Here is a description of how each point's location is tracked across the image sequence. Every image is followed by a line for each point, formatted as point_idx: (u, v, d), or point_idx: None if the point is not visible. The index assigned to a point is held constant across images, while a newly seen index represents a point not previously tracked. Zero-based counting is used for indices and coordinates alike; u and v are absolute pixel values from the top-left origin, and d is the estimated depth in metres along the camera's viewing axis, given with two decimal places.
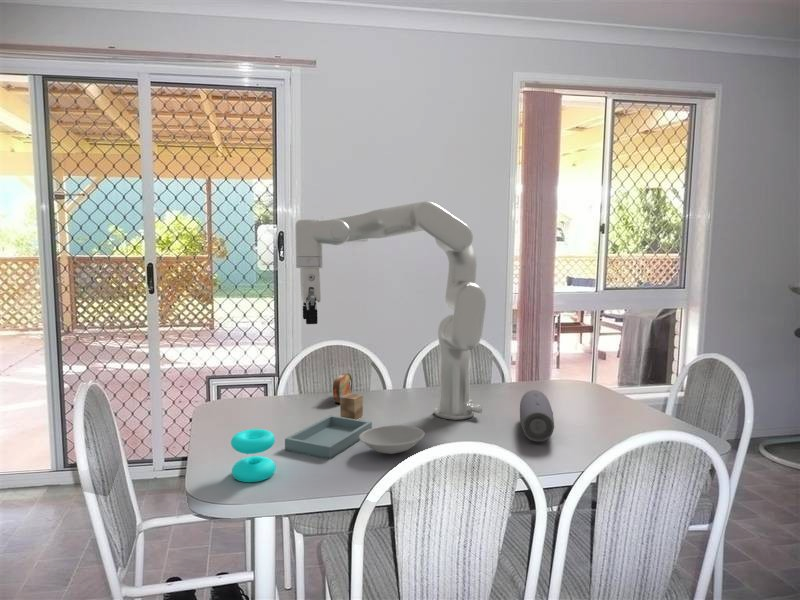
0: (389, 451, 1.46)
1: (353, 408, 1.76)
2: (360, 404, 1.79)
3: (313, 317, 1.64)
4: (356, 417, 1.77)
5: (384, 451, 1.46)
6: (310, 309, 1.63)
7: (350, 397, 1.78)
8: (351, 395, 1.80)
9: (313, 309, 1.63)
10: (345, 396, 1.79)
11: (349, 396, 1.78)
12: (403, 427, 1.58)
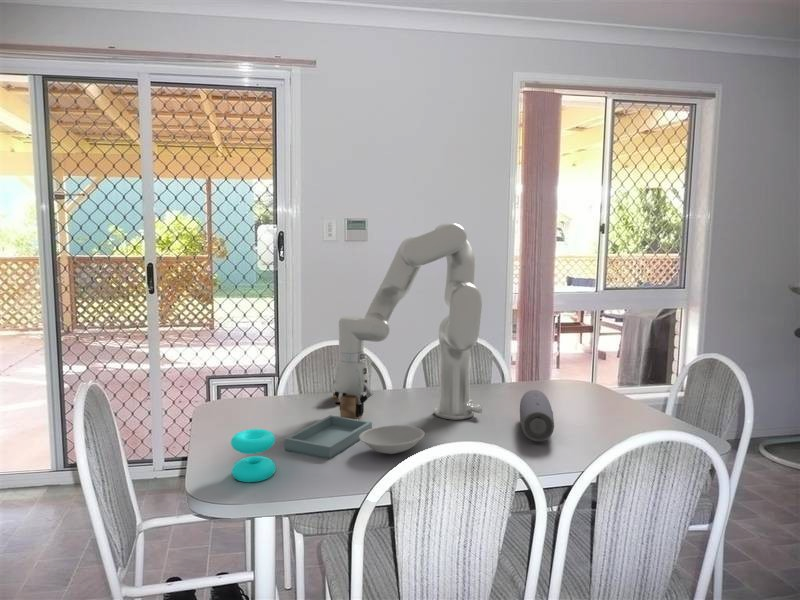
0: (389, 451, 1.46)
1: (353, 408, 1.76)
2: None
3: (362, 409, 1.78)
4: (356, 417, 1.78)
5: (384, 451, 1.46)
6: (362, 403, 1.77)
7: (350, 397, 1.78)
8: (351, 395, 1.80)
9: (363, 402, 1.78)
10: (345, 396, 1.79)
11: (349, 396, 1.78)
12: (403, 427, 1.58)
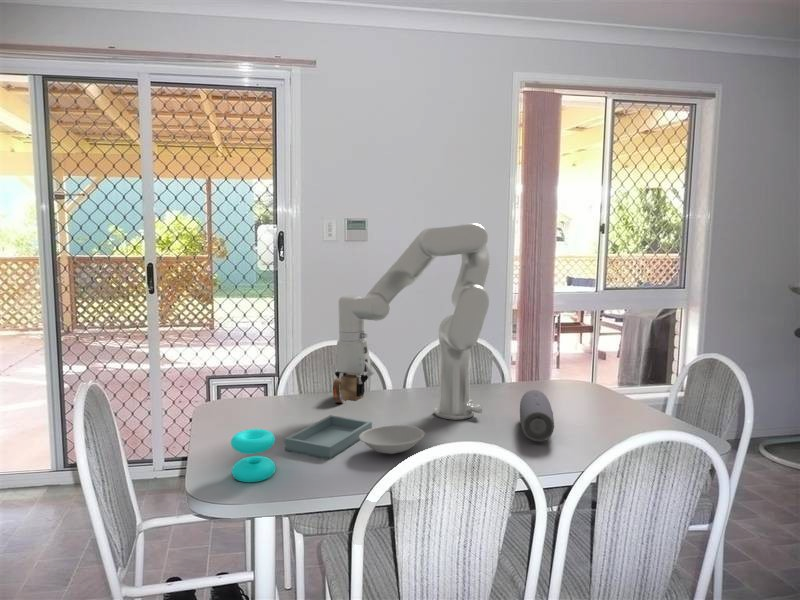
0: (389, 451, 1.46)
1: (354, 387, 1.76)
2: None
3: (363, 389, 1.78)
4: (357, 397, 1.77)
5: (384, 451, 1.46)
6: (363, 382, 1.76)
7: (351, 376, 1.77)
8: (352, 375, 1.79)
9: None
10: (346, 376, 1.78)
11: (349, 376, 1.78)
12: (403, 427, 1.58)
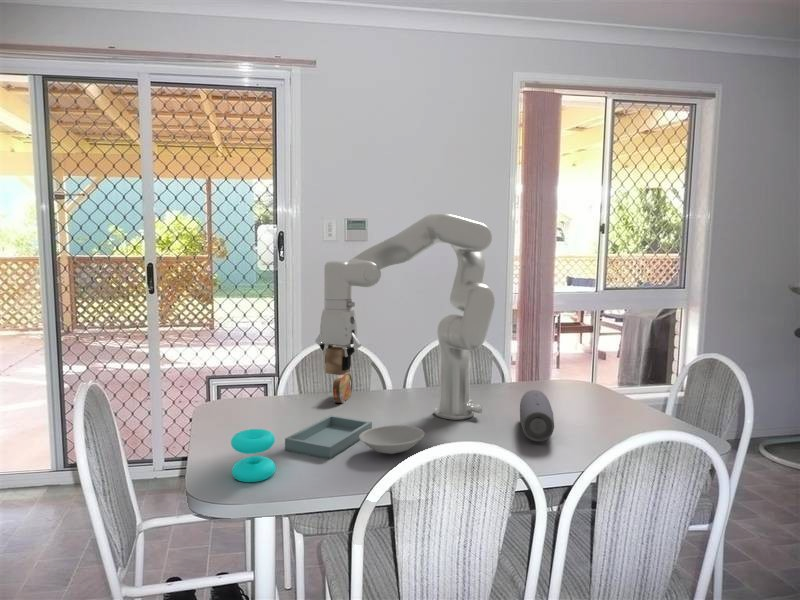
0: (389, 451, 1.46)
1: (339, 360, 1.62)
2: None
3: (349, 362, 1.64)
4: (342, 370, 1.63)
5: (384, 451, 1.46)
6: (349, 355, 1.63)
7: (336, 349, 1.63)
8: (337, 347, 1.65)
9: (350, 355, 1.63)
10: (331, 348, 1.64)
11: (335, 348, 1.64)
12: (403, 427, 1.58)
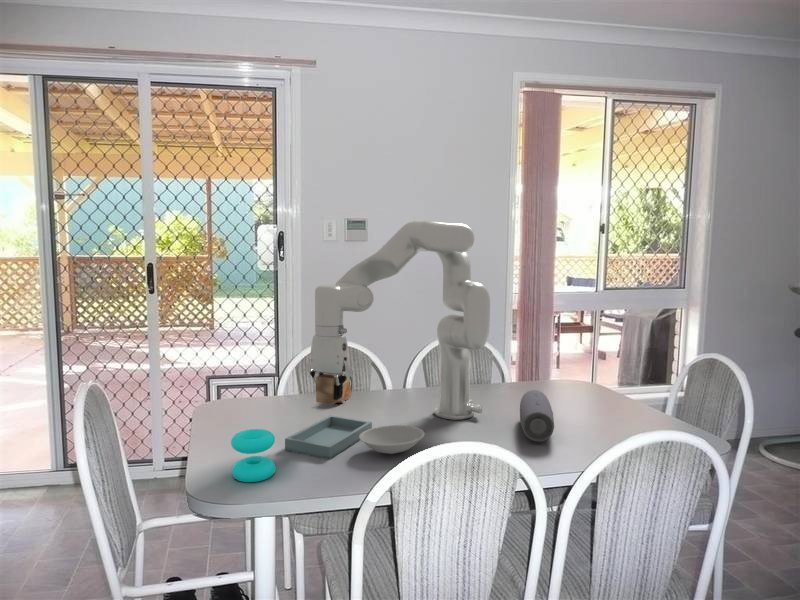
0: (389, 451, 1.46)
1: (330, 389, 1.55)
2: None
3: (341, 391, 1.57)
4: None
5: (384, 451, 1.46)
6: (341, 383, 1.56)
7: (327, 377, 1.56)
8: (329, 375, 1.58)
9: (342, 383, 1.56)
10: (322, 376, 1.57)
11: (326, 376, 1.57)
12: (403, 427, 1.58)
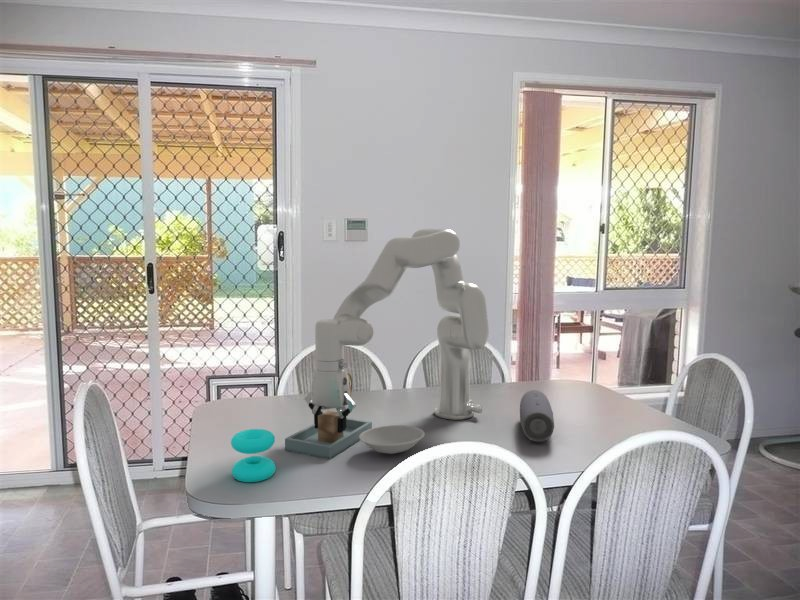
0: (389, 451, 1.46)
1: (332, 428, 1.56)
2: None
3: (345, 424, 1.58)
4: (336, 438, 1.57)
5: (384, 451, 1.46)
6: (344, 416, 1.56)
7: (329, 415, 1.58)
8: (330, 413, 1.60)
9: None
10: (323, 414, 1.59)
11: (327, 415, 1.58)
12: (403, 427, 1.58)
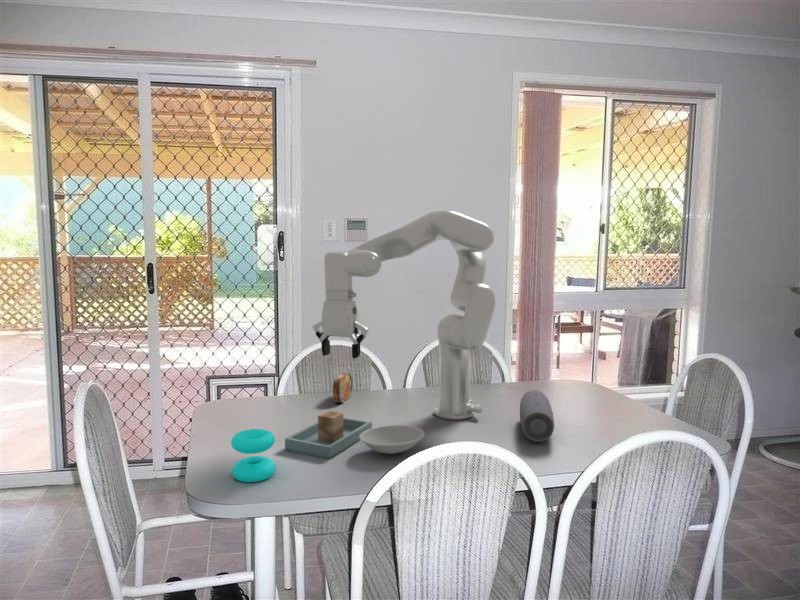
0: (389, 451, 1.46)
1: (332, 428, 1.56)
2: (340, 423, 1.59)
3: (359, 350, 1.63)
4: (336, 438, 1.57)
5: (384, 451, 1.46)
6: (358, 342, 1.61)
7: (329, 415, 1.58)
8: (330, 413, 1.60)
9: (360, 342, 1.62)
10: (323, 414, 1.59)
11: (327, 415, 1.58)
12: (403, 427, 1.58)
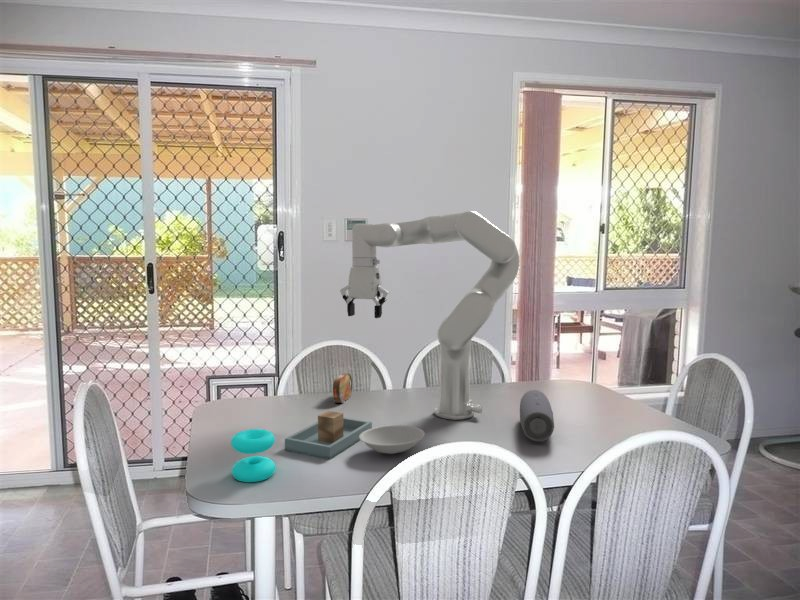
0: (389, 451, 1.46)
1: (332, 428, 1.56)
2: (340, 423, 1.59)
3: (381, 311, 1.83)
4: (336, 438, 1.57)
5: (384, 451, 1.46)
6: (380, 304, 1.82)
7: (329, 415, 1.58)
8: (330, 413, 1.60)
9: (382, 304, 1.83)
10: (323, 414, 1.59)
11: (327, 415, 1.58)
12: (403, 427, 1.58)
